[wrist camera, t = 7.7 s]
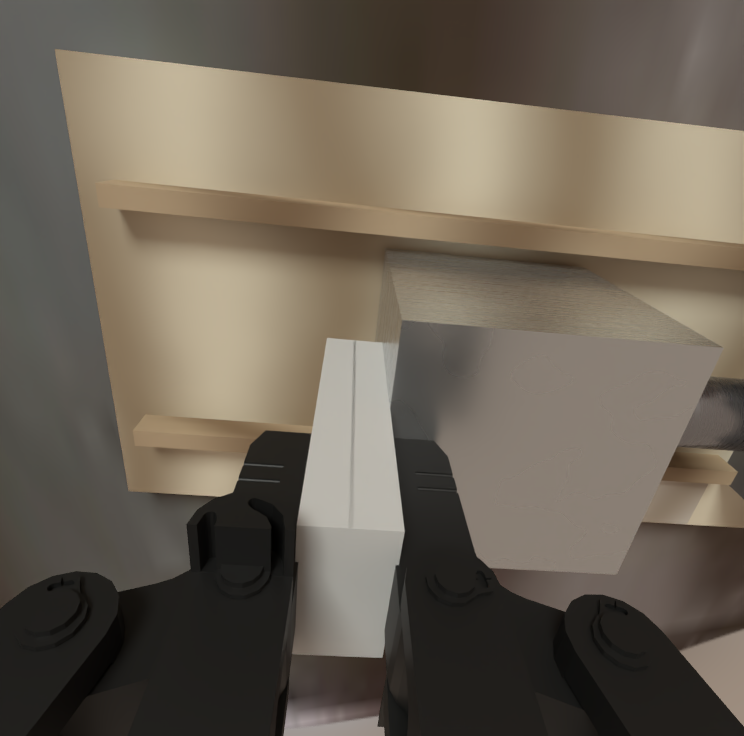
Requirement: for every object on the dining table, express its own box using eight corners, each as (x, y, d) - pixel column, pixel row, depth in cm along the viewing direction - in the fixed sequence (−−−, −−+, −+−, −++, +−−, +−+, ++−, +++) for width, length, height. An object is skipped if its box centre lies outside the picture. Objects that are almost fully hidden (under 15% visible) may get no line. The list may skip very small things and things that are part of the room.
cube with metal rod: (354, 522, 18) (352, 681, 13) (385, 247, 14) (402, 320, 8) (623, 537, 19) (727, 695, 14) (740, 282, 14) (970, 369, 9)
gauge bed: (142, 470, 19) (26, 646, 12) (80, 56, 13) (-216, -30, 6) (751, 509, 20) (933, 681, 14) (961, 161, 14) (1463, 180, 8)
